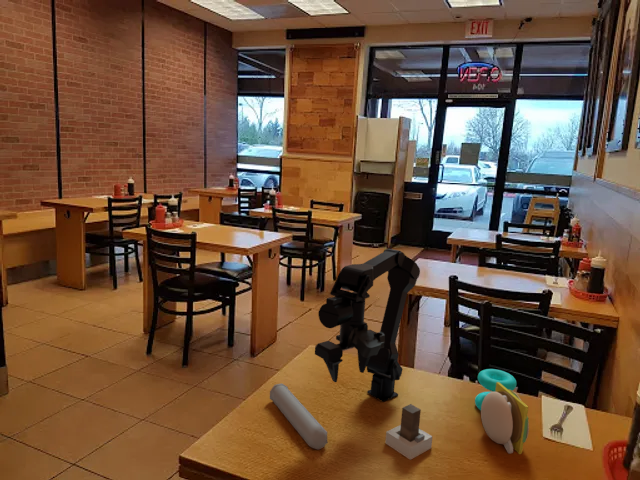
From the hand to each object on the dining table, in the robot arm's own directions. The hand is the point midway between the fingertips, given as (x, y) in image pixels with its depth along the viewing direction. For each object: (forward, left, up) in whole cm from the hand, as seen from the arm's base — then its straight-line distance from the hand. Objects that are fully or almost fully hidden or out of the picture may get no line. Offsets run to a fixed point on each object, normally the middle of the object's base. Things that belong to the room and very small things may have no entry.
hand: (348, 376), depth 120 cm
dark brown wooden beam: (-5, +16, -12) cm, 21 cm away
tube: (+11, -6, -12) cm, 18 cm away
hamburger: (-26, +28, -12) cm, 40 cm away
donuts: (-38, +19, -12) cm, 44 cm away
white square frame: (-5, +16, -12) cm, 21 cm away
